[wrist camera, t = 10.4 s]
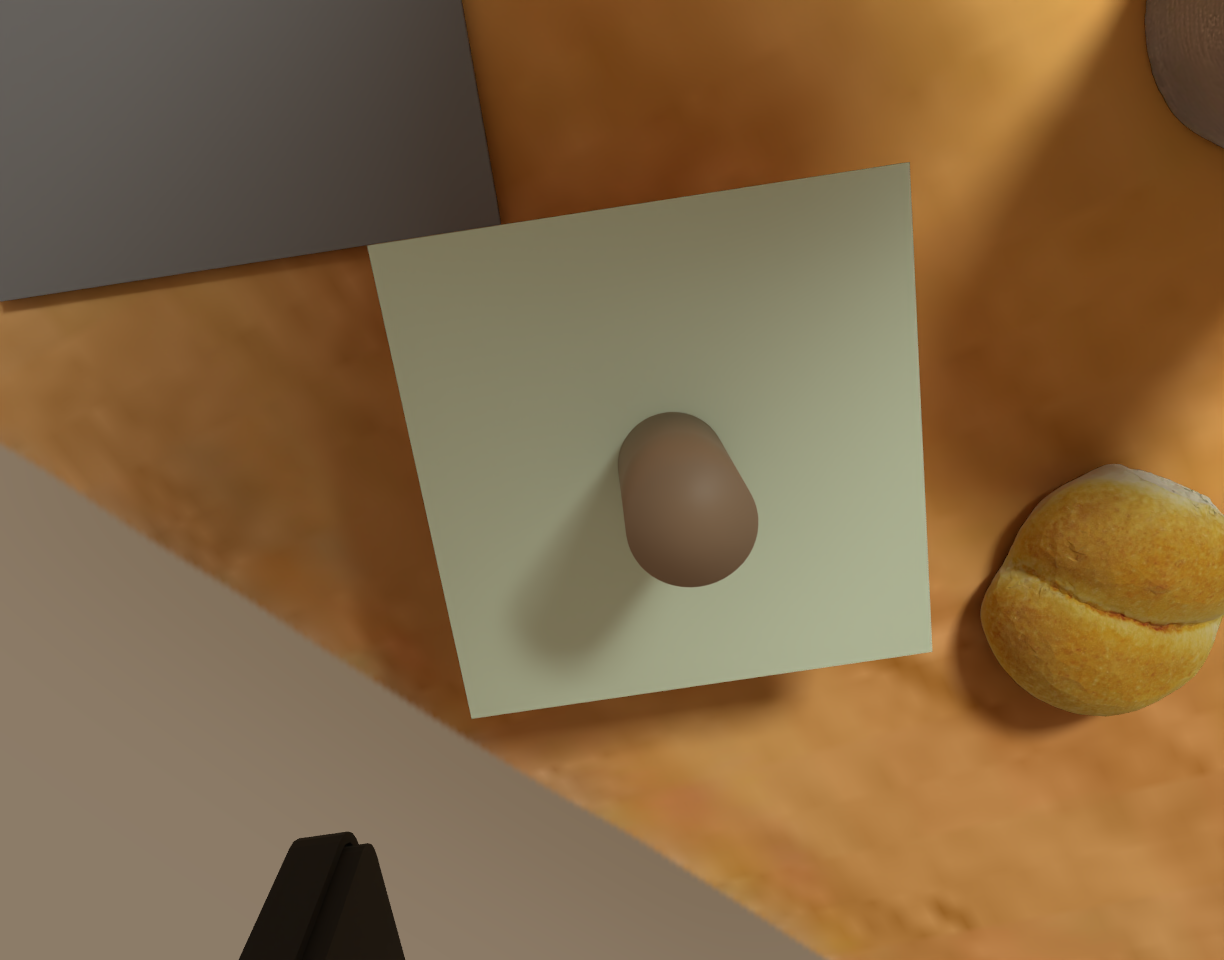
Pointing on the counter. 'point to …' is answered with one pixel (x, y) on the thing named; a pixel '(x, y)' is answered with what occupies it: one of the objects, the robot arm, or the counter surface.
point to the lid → (669, 437)
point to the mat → (229, 134)
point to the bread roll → (1109, 592)
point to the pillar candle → (1189, 61)
